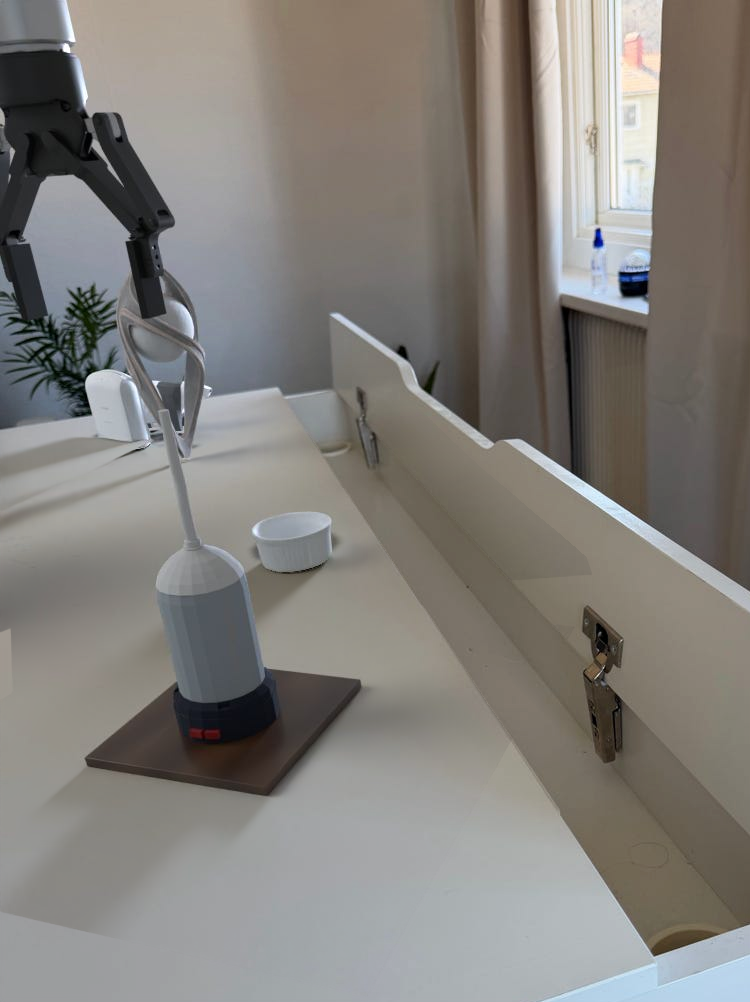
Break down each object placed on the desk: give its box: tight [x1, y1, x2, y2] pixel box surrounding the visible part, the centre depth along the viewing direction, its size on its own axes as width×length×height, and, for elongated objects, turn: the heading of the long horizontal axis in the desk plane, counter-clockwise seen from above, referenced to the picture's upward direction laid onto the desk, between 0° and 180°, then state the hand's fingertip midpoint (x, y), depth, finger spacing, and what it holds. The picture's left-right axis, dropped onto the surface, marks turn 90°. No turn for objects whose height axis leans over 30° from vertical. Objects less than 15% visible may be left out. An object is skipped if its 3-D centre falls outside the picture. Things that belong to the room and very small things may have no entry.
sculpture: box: [115, 267, 206, 459], centre depth 144 cm, size 12×12×30 cm
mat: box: [84, 668, 362, 796], centre depth 79 cm, size 16×16×1 cm
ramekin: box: [250, 511, 333, 573], centre depth 110 cm, size 9×9×4 cm
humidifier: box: [155, 409, 280, 744], centre depth 74 cm, size 8×8×25 cm
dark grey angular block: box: [141, 375, 213, 431], centre depth 166 cm, size 15×6×10 cm, turn 91°
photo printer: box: [84, 368, 152, 448], centre depth 159 cm, size 10×4×12 cm, turn 55°
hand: (93, 317), depth 91 cm, fingers open, 13 cm apart
